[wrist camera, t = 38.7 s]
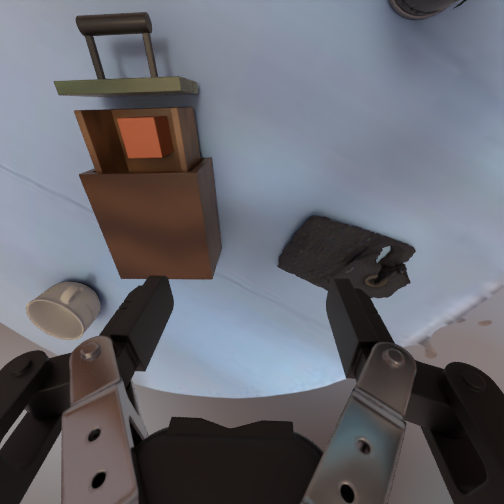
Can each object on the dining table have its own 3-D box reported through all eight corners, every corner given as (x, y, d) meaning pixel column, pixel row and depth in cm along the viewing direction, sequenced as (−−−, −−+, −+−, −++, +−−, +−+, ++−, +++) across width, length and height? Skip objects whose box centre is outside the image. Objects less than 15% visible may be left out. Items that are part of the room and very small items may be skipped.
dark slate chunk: (315, 195, 37) (321, 206, 33) (420, 249, 42) (437, 264, 38) (270, 265, 45) (270, 280, 41) (363, 304, 49) (372, 322, 45)
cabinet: (119, 159, 36) (78, 174, 28) (211, 157, 35) (196, 172, 27) (146, 247, 44) (120, 278, 36) (221, 247, 44) (212, 279, 36)
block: (143, 152, 33) (128, 158, 30) (134, 116, 31) (116, 118, 27) (174, 151, 33) (162, 157, 29) (167, 115, 31) (153, 117, 27)
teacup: (93, 318, 55) (69, 347, 49) (47, 291, 52) (14, 320, 45) (123, 288, 50) (101, 316, 43) (74, 256, 46) (42, 282, 39)
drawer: (79, 30, 27) (25, 7, 21) (190, 24, 27) (167, 0, 21) (130, 196, 38) (104, 214, 32) (211, 195, 37) (200, 213, 31)
